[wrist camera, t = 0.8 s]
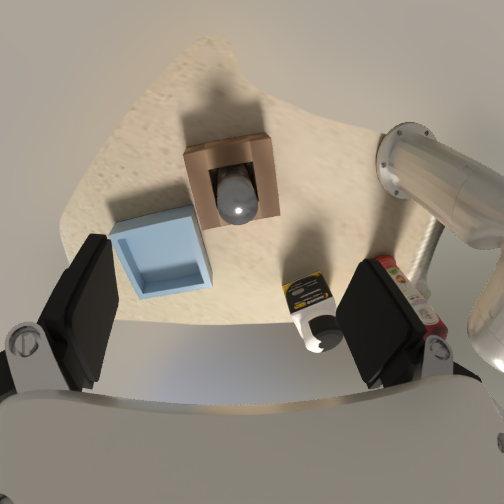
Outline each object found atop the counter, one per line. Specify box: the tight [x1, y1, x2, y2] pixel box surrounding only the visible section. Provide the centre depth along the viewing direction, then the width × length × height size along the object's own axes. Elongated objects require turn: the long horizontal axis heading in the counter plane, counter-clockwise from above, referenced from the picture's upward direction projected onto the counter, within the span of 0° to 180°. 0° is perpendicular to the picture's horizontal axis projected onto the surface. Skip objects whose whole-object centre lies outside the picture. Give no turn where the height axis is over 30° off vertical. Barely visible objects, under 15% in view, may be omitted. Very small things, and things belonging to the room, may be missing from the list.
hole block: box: [183, 133, 280, 230], centre depth 34 cm, size 10×10×4 cm
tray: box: [108, 205, 213, 299], centre depth 39 cm, size 12×12×4 cm
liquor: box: [374, 255, 448, 340], centre depth 36 cm, size 7×7×28 cm
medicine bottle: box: [282, 271, 343, 352], centre depth 44 cm, size 7×7×12 cm
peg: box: [217, 163, 258, 225], centre depth 31 cm, size 4×4×10 cm
